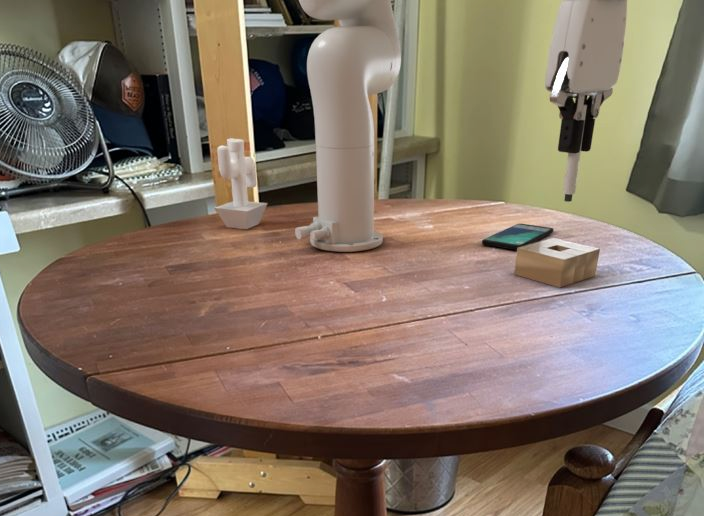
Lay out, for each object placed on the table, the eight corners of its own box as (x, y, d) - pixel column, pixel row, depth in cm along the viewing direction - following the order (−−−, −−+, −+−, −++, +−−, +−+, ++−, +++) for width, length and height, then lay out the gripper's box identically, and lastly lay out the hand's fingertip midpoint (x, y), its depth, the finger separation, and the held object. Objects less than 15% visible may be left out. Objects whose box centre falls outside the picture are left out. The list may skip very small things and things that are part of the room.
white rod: (569, 202, 98) (582, 105, 91) (559, 201, 99) (571, 105, 93) (576, 200, 99) (589, 104, 92) (566, 199, 100) (579, 104, 93)
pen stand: (559, 287, 100) (564, 259, 98) (513, 274, 105) (517, 247, 103) (595, 276, 104) (600, 248, 102) (549, 263, 110) (553, 237, 107)
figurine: (271, 221, 136) (266, 136, 127) (245, 233, 128) (237, 143, 120) (240, 218, 138) (232, 134, 130) (212, 229, 131) (202, 141, 123)
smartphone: (555, 228, 125) (518, 246, 115) (554, 232, 125) (518, 251, 115) (518, 222, 128) (479, 240, 118) (518, 227, 129) (479, 244, 119)
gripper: (608, -12, 92) (585, 142, 102) (531, -13, 84) (514, 155, 94) (661, -15, 87) (631, 147, 97) (584, -16, 79) (560, 161, 89)
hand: (573, 150), depth 95 cm, fingers closed on white rod, 1 cm apart
